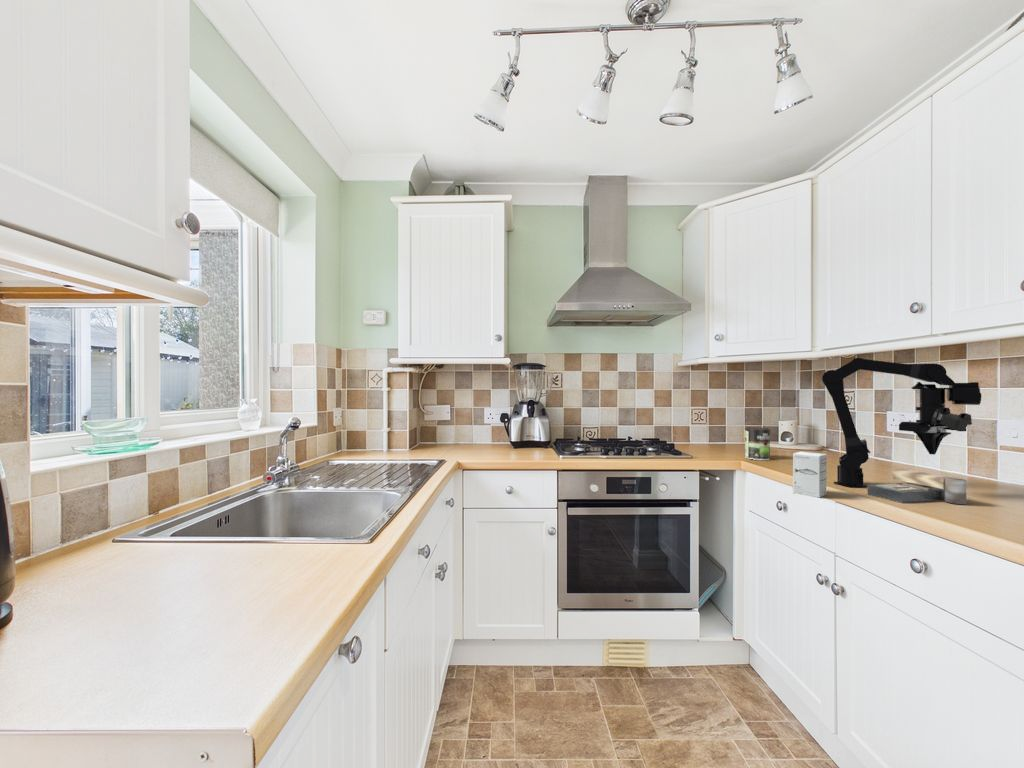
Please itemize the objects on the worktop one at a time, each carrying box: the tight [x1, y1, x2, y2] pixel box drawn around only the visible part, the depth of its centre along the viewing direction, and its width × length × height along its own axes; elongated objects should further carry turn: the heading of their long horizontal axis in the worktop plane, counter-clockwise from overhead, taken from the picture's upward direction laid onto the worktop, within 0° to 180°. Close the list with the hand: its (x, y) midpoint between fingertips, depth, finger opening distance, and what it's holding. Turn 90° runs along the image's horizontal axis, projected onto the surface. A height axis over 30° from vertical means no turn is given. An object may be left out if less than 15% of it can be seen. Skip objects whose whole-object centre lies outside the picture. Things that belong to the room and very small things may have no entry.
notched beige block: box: [892, 468, 967, 505], centre depth 133 cm, size 18×4×6 cm, turn 11°
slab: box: [867, 482, 945, 504], centre depth 133 cm, size 10×20×3 cm, turn 101°
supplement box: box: [792, 450, 828, 499], centre depth 137 cm, size 7×7×13 cm
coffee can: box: [744, 427, 771, 461], centre depth 205 cm, size 10×10×14 cm
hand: (932, 454), depth 138 cm, fingers closed
